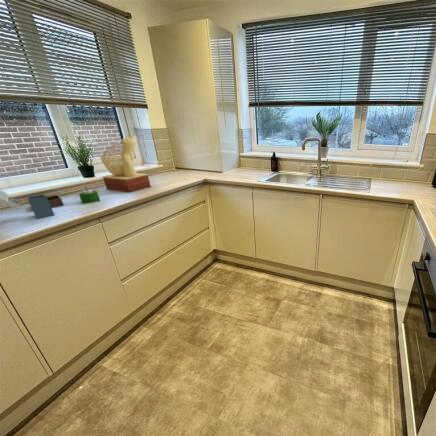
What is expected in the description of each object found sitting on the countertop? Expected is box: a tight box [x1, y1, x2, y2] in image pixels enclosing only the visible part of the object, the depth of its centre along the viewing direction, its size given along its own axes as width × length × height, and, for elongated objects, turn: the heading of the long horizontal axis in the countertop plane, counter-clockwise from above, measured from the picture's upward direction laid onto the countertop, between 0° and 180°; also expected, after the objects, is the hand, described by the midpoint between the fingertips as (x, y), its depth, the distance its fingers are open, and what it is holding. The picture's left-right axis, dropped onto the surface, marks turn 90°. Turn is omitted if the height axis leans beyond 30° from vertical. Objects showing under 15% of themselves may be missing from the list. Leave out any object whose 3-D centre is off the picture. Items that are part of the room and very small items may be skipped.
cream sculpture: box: [100, 135, 152, 193], centre depth 161 cm, size 25×18×35 cm
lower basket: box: [29, 194, 64, 209], centre depth 132 cm, size 12×12×5 cm
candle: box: [78, 184, 101, 204], centre depth 138 cm, size 8×8×10 cm
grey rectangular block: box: [26, 193, 55, 220], centre depth 118 cm, size 6×6×10 cm
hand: (19, 205), depth 113 cm, fingers open, 8 cm apart
